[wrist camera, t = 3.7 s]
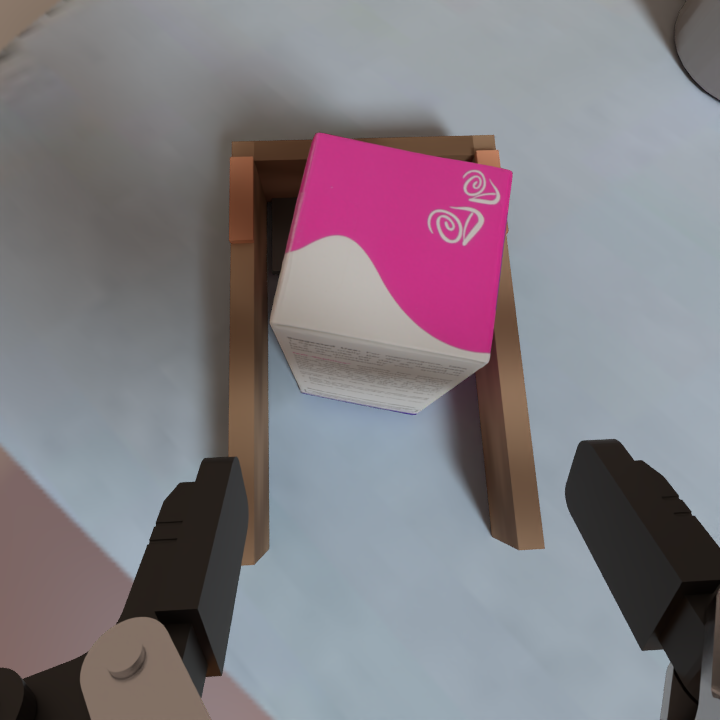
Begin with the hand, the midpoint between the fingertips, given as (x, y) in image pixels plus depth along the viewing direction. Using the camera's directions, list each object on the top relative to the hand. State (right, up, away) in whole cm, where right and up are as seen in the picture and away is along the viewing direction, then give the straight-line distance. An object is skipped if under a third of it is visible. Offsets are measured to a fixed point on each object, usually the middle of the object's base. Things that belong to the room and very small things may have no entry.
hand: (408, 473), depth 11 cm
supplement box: (-1, +3, +12) cm, 13 cm away
